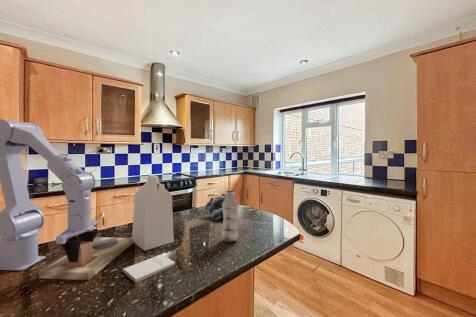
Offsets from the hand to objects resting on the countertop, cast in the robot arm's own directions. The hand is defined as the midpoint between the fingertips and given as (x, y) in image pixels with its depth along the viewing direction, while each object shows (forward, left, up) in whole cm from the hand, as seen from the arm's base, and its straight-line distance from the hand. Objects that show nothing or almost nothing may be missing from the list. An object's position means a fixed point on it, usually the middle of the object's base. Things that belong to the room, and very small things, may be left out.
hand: (79, 257), depth 67 cm
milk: (+14, +21, -3) cm, 25 cm away
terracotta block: (0, 0, -3) cm, 3 cm away
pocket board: (0, +6, -3) cm, 7 cm away
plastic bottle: (+44, +23, -3) cm, 50 cm away
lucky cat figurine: (+38, +53, -3) cm, 65 cm away
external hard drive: (+21, +1, -4) cm, 21 cm away
